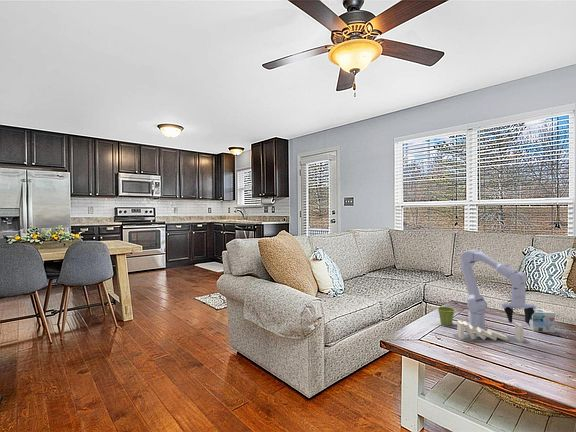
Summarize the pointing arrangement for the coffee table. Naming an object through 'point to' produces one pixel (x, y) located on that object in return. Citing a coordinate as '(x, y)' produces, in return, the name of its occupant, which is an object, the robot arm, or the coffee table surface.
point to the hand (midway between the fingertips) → (518, 322)
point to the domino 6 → (519, 332)
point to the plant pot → (446, 315)
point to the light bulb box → (542, 321)
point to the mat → (487, 339)
